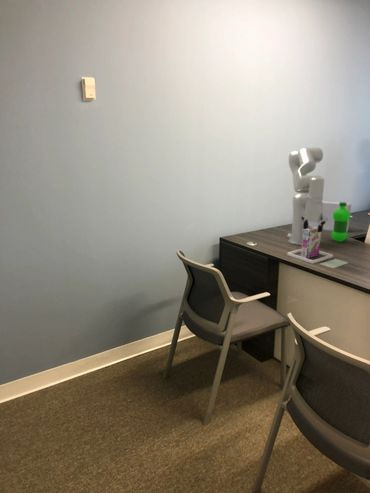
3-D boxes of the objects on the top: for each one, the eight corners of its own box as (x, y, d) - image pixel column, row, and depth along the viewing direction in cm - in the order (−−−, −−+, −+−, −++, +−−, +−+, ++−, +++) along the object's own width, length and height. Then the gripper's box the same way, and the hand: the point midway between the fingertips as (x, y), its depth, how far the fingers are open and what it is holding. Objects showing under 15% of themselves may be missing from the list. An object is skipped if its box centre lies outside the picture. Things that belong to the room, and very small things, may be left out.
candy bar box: (307, 259, 214) (309, 231, 209) (300, 257, 218) (302, 229, 213) (319, 255, 220) (322, 228, 215) (312, 253, 224) (314, 226, 219)
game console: (346, 232, 267) (350, 204, 261) (307, 227, 280) (309, 201, 274) (348, 230, 271) (351, 203, 265) (309, 226, 285) (311, 199, 279)
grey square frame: (287, 255, 221) (287, 252, 221) (307, 249, 231) (307, 247, 230) (312, 263, 207) (313, 261, 207) (332, 257, 217) (333, 254, 216)
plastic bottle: (339, 237, 255) (343, 200, 247) (350, 242, 245) (355, 203, 237) (326, 239, 252) (331, 201, 244) (337, 243, 242) (342, 204, 235)
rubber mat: (319, 264, 206) (319, 263, 206) (335, 259, 213) (335, 258, 213) (332, 268, 200) (332, 267, 199) (348, 263, 207) (348, 262, 207)
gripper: (298, 198, 214) (295, 228, 219) (324, 203, 200) (321, 234, 205) (306, 197, 218) (304, 226, 223) (333, 201, 204) (330, 232, 209)
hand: (312, 230), depth 214 cm, fingers open, 9 cm apart
